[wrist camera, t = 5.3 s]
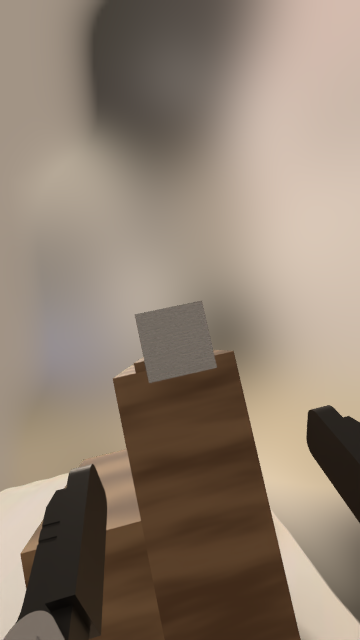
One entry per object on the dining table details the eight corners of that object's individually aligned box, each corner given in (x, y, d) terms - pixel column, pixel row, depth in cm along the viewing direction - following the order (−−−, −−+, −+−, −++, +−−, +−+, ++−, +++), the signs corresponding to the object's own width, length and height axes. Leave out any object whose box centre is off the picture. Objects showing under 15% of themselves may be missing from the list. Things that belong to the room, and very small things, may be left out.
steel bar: (216, 367, 15) (201, 300, 15) (148, 383, 14) (134, 314, 15) (181, 354, 39) (175, 328, 39) (155, 360, 38) (149, 334, 39)
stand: (331, 774, 22) (226, 321, 24) (73, 871, 20) (-10, 372, 22) (253, 581, 40) (197, 332, 42) (114, 623, 38) (64, 361, 40)
